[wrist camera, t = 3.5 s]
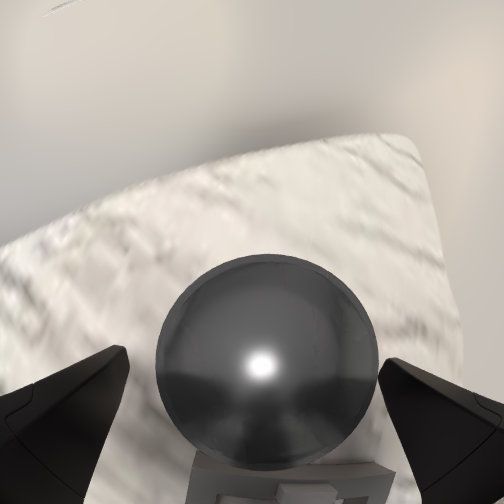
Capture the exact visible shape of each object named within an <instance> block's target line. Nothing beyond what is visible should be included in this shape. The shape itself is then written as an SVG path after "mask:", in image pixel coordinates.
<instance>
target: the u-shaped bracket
mask: <svg viewBox="0 0 504 504" xmlns="http://www.w3.org/2000/svg"><path fill="white" fill-rule="evenodd" d="M395 474H396V472H394V471H392V470H389V469H387V468H385V467H383V466H381V465H379V464H377V463H375V462H369V463H357V464H335V465H307V464H305V465H302V466H299V467H295V468H291V469H286V470H280V471H251V470H246V469H241V468H236V467H233V466H230V465H227V464H224V463H221V462H219V461H217V460H215V459H213V458H211V457H210V456H208V455H206V454H205V453H203V452H201V451H197V452H196V455H195V459H194V462H193V466H192V471H191V476H190V481H189V486H188V491H187V496H186V502H185V504H215V501H216V497H217V494H221V495H227V496H234V497H242V498H252V499H264V500H277V501H278V503H279V504H334V502H335V499H345V500H344V503H343V504H385V503H386V500H387V497H388V495H389V492H390V489H391V486H392V483H393V480H394V477H395Z"/></svg>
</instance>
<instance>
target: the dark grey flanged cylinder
mask: <svg viewBox="0 0 504 504" xmlns="http://www.w3.org/2000/svg"><path fill="white" fill-rule="evenodd" d="M378 367H379V358H378V346H377V341H376V336H375V333H374V329H373V326H372V323H371V321H370V319H369V317H368V314H367V312H366V311H365V309H364V307H363V306H362V304H361V302H360V301H359V299H358V298H357V297H356V296H355V294H354V293H353V292H352V291H351V290H350V289H349V288H348V287H347V286H346V285H345V284H344V283H343V282H342V281H341V280H340V279H338V278H337V277H336V276H335V275H333V274H332V273H330V272H329V271H327V270H325V269H324V268H322V267H320V266H318V265H316V264H313V263H311V262H309V261H306V260H303V259H299V258H296V257H292V256H286V255H278V254H260V255H250V256H246V257H241V258H237V259H234V260H231V261H228V262H225V263H223V264H221V265H219V266H217V267H215V268H213V269H211V270H209V271H208V272H206V273H205V274H203V275H202V276H200V277H199V278H198V279H197V280H195V281H194V282H193V283H192V284H191V285H190V286H188V288H187V289H186V290H185V291H184V292H183V293H182V294H181V295H180V296H179V298H178V299H177V301H176V302H175V303H174V305H173V306H172V308H171V309H170V311H169V313H168V315H167V317H166V319H165V321H164V323H163V326H162V329H161V332H160V335H159V339H158V344H157V350H156V366H155V368H156V378H157V385H158V389H159V393H160V396H161V399H162V402H163V404H164V406H165V409H166V411H167V413H168V415H169V416H170V418H171V420H172V421H173V423H174V425H175V426H176V427H177V428H178V430H179V431H180V432H181V433H182V435H183V436H184V437H185V438H186V439H187V440H188V441H189V442H190V443H192V444H193V445H194V446H195V447H196V448H198V449H199V450H200V451H202V452H203V453H205V454H206V455H208V456H210V457H211V458H213V459H215V460H217V461H219V462H221V463H224V464H227V465H230V466H233V467H236V468H241V469H246V470H251V471H280V470H286V469H291V468H295V467H299V466H302V465H305V464H307V463H310V462H312V461H314V460H316V459H318V458H320V457H322V456H324V455H326V454H327V453H329V452H330V451H332V450H333V449H335V448H336V447H337V446H338V445H339V444H341V443H342V442H343V441H344V440H345V439H346V438H347V437H348V436H349V435H350V434H351V433H352V432H353V430H354V429H355V428H356V427H357V425H358V424H359V422H360V421H361V419H362V418H363V416H364V415H365V413H366V411H367V409H368V407H369V405H370V402H371V400H372V397H373V394H374V391H375V387H376V382H377V378H378Z"/></svg>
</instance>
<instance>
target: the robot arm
mask: <svg viewBox="0 0 504 504" xmlns="http://www.w3.org/2000/svg"><path fill="white" fill-rule="evenodd" d="M129 369H130V364H129V359H128V355H127V351H126V348H125V347H124V346H119V345H113V346H110V347H108V348H106V349H104V350H102V351H100V352H98V353H96V354H94V355H92V356H90V357H88V358H86V359H84V360H82V361H79V362H77V363H75V364H73V365H71V366H69V367H67V368H65V369H63V370H61V371H58V372H56V373H54V374H52V375H50V376H48V377H46V378H43V379H41V380H39V381H37V382H35V383H34V384H33V383H32V384H30V385H27V386H25V387H23V388H21V389H18V390H16V391H13V392H11V393H8V394H6V395H3V396H0V504H83V502H84V498H85V496H86V493H87V490H88V487H89V484H90V481H91V478H92V475H93V472H94V470H95V467H96V464H97V461H98V459H99V456H100V453H101V451H102V448H103V445H104V443H105V440H106V438H107V435H108V433H109V430H110V428H111V425H112V423H113V420H114V418H115V415H116V413H117V410H118V408H119V405H120V402H121V399H122V395H123V392H124V388H125V384H126V381H127V377H128V374H129ZM378 382H379V385H380V389H381V392H382V395H383V398H384V402H385V405H386V408H387V411H388V413H389V416H390V418H391V420H392V423H393V425H394V427H395V430H396V432H397V434H398V437H399V439H400V442H401V444H402V447H403V449H404V452H405V454H406V457H407V459H408V462H409V464H410V467H411V470H412V472H413V475H414V477H415V480H416V483H417V486H418V488H419V491H420V494H421V498H422V504H504V404H502V403H500V402H496V401H494V400H491V399H489V398H486V397H484V396H481V395H479V394H477V393H474V392H473V393H472V392H471V391H469V390H467V389H464V388H462V387H460V386H457V385H455V384H453V383H451V382H448V381H446V380H444V379H442V378H440V377H437V376H435V375H433V374H431V373H429V372H426V371H424V370H422V369H420V368H418V367H416V366H413V365H411V364H409V363H407V362H405V361H403V360H401V359H399V358H388V359H386V360H385V362H384V364H383V366H382V368H381V370H380V372H379V374H378Z"/></svg>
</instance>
